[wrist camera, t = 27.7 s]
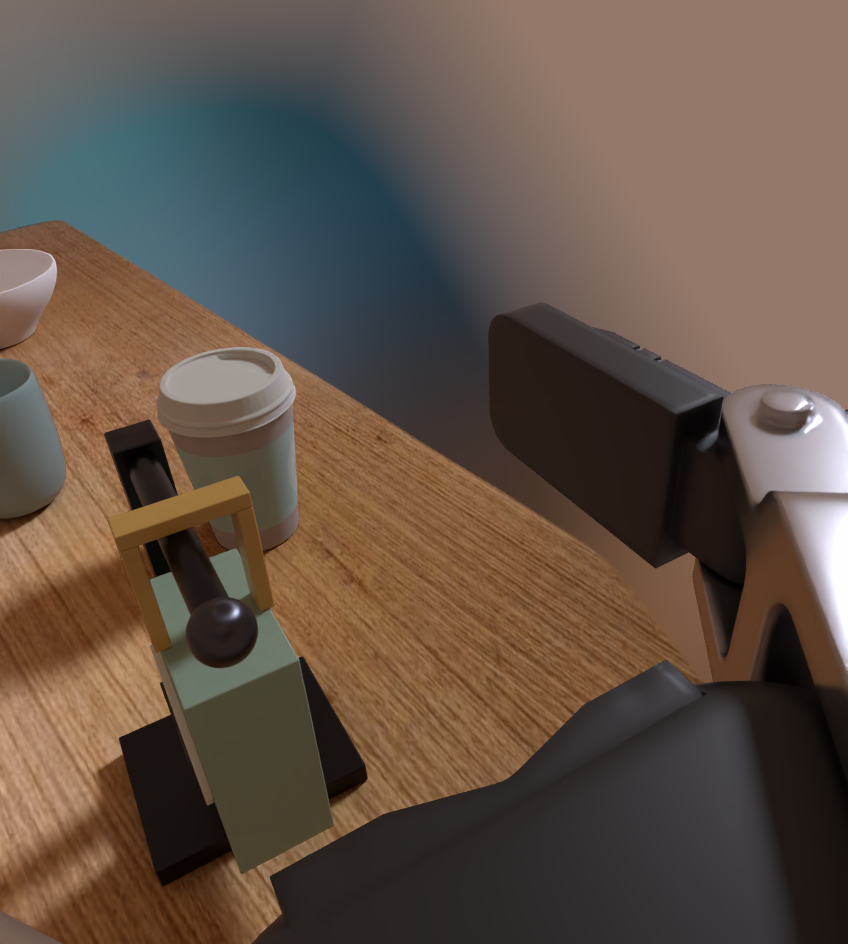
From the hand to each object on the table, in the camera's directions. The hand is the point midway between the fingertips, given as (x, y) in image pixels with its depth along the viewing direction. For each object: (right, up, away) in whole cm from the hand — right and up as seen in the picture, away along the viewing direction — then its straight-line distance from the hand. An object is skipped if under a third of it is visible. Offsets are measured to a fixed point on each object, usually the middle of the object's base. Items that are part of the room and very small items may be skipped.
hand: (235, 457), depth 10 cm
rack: (-5, -16, +26) cm, 31 cm away
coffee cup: (-9, -4, +44) cm, 46 cm away
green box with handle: (-5, -14, +24) cm, 28 cm away
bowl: (-44, +14, +75) cm, 88 cm away
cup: (-28, -3, +49) cm, 56 cm away
